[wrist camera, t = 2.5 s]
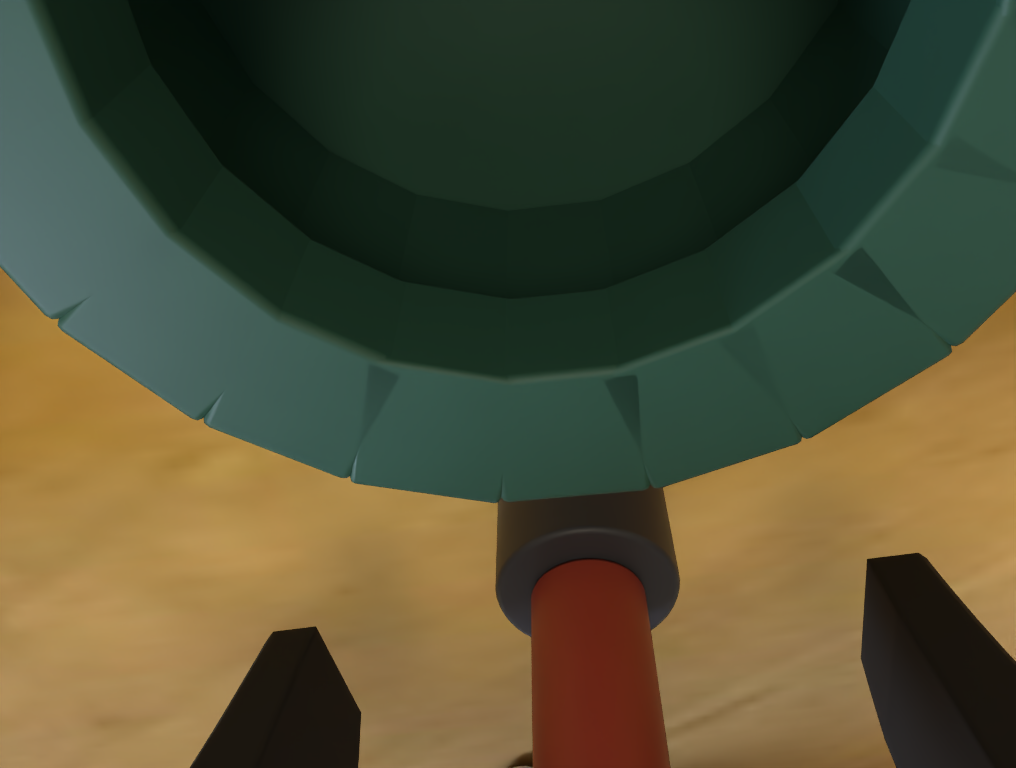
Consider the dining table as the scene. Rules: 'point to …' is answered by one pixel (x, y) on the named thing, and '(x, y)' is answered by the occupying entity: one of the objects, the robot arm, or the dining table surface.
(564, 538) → the red grey stepped cylinder
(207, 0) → the teal tube ring
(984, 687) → the robot arm
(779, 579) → the dining table surface
